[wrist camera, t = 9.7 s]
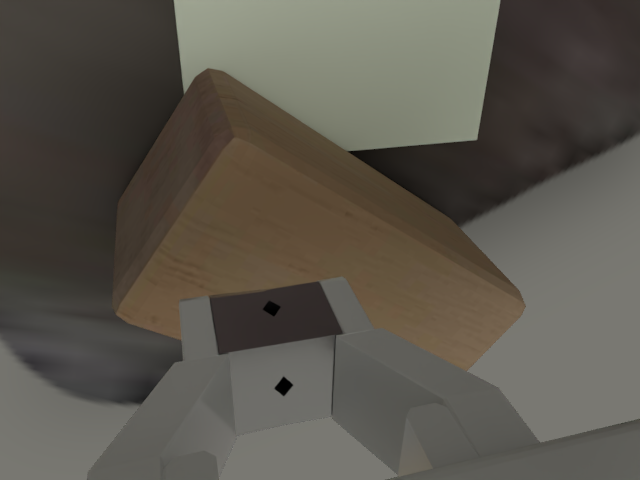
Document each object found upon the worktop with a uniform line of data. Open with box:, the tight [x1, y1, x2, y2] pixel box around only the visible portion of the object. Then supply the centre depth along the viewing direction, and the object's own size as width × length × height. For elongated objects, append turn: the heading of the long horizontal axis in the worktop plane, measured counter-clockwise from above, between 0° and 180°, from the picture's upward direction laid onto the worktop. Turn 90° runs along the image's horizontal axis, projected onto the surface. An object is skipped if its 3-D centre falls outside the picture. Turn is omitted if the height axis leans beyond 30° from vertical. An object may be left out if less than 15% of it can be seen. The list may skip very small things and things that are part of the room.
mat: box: [174, 0, 500, 151], centre depth 29 cm, size 18×12×1 cm, turn 89°
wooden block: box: [112, 68, 526, 371], centre depth 30 cm, size 10×10×20 cm
